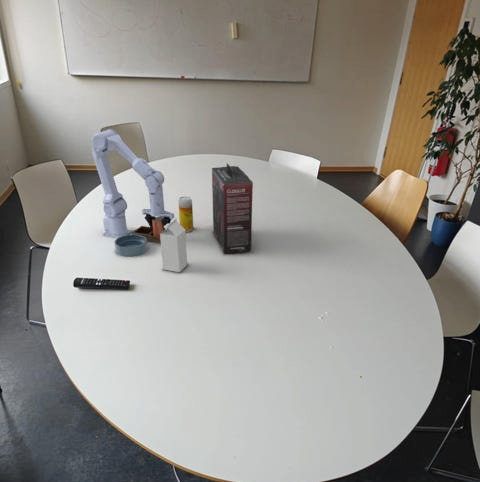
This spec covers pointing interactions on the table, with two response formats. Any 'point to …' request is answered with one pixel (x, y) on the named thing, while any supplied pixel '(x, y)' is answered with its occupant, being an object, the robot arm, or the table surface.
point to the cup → (157, 226)
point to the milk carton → (173, 247)
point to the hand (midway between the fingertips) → (159, 232)
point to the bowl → (131, 245)
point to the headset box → (232, 208)
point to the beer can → (186, 213)
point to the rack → (147, 234)
